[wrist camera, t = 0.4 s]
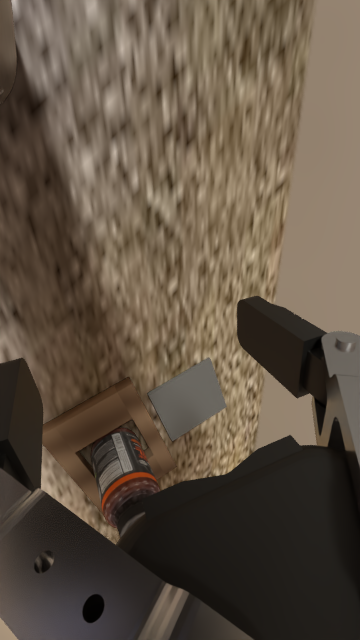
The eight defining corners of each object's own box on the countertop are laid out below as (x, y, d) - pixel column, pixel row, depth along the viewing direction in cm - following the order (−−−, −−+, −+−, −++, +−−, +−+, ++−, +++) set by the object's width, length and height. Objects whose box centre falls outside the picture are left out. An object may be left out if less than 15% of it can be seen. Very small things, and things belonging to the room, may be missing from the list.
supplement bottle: (144, 444, 39) (180, 523, 30) (105, 472, 38) (129, 564, 29) (123, 416, 36) (155, 494, 27) (79, 446, 35) (97, 538, 26)
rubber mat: (147, 393, 37) (148, 395, 36) (208, 357, 39) (210, 359, 38) (170, 439, 41) (172, 441, 40) (224, 404, 43) (226, 406, 43)
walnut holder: (37, 428, 32) (37, 437, 31) (128, 376, 35) (132, 383, 33) (101, 505, 40) (103, 515, 38) (172, 458, 42) (176, 466, 41)
